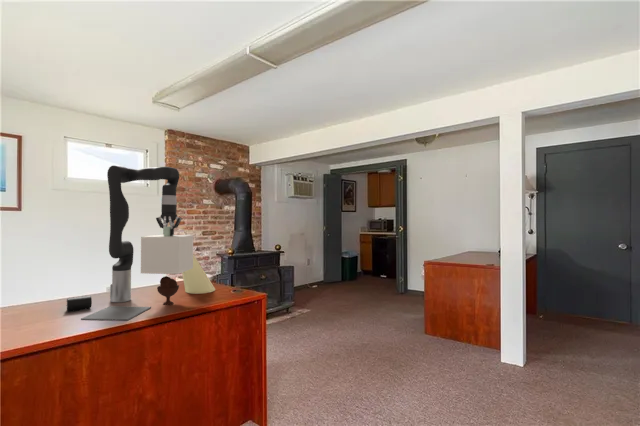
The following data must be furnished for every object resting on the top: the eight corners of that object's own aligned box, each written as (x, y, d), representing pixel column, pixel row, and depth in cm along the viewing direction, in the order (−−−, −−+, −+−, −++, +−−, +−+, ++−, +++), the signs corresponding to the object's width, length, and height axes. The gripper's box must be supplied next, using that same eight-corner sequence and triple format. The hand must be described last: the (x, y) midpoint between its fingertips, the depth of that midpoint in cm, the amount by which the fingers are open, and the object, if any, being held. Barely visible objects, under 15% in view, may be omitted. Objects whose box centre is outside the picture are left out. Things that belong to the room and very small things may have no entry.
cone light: (208, 286, 238) (209, 234, 238) (220, 290, 224) (220, 235, 224) (171, 291, 223) (171, 235, 223) (180, 296, 208) (181, 237, 209)
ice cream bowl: (164, 307, 183) (164, 278, 183) (153, 304, 190) (153, 276, 190) (182, 303, 191) (183, 276, 192) (171, 300, 198) (172, 273, 198)
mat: (80, 319, 161) (80, 318, 161) (109, 307, 183) (109, 306, 183) (127, 320, 161) (127, 319, 161) (151, 307, 182) (151, 306, 182)
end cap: (67, 313, 171) (67, 299, 171) (65, 310, 177) (65, 297, 177) (91, 310, 178) (91, 296, 178) (89, 307, 183) (89, 294, 183)
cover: (140, 273, 181) (141, 227, 181) (158, 267, 201) (159, 225, 201) (178, 273, 181) (179, 227, 181) (192, 268, 200) (193, 226, 200)
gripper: (152, 203, 187) (152, 236, 187) (179, 203, 187) (178, 236, 187) (159, 204, 195) (159, 235, 195) (184, 204, 194) (184, 235, 194)
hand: (168, 235), depth 191 cm, fingers closed on cover, 2 cm apart
